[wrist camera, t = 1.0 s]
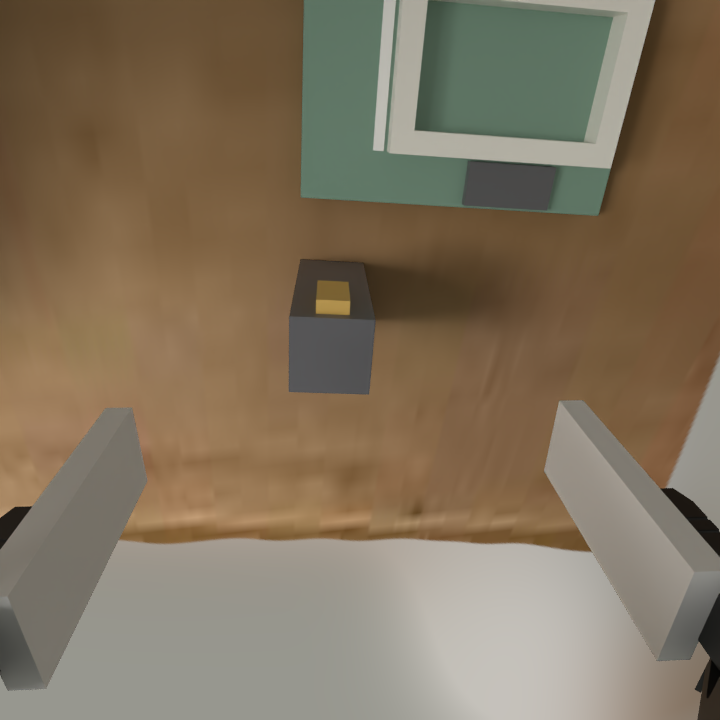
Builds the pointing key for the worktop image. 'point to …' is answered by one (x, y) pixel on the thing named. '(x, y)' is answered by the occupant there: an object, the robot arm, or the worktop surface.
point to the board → (467, 100)
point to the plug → (331, 329)
